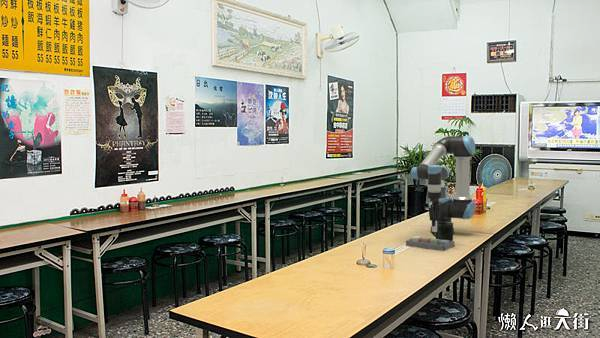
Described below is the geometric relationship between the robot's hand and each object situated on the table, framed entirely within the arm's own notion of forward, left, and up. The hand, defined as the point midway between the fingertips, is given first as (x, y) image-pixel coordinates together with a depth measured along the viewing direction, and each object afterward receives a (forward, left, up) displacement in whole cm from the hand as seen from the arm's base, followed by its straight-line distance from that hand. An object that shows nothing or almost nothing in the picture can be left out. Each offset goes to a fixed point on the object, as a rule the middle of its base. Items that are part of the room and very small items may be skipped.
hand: (434, 231), depth 304 cm
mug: (-18, -4, -10) cm, 21 cm away
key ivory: (0, -12, -7) cm, 14 cm away
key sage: (0, 0, -7) cm, 7 cm away
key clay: (0, -6, -7) cm, 9 cm away
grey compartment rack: (0, -3, -10) cm, 10 cm away
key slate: (0, +6, -7) cm, 9 cm away
